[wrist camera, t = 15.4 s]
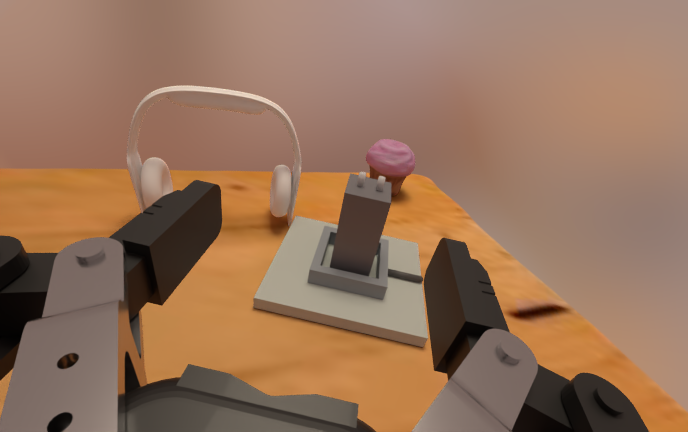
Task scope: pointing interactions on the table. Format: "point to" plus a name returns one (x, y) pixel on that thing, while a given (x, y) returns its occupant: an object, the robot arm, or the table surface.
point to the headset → (154, 172)
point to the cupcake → (390, 162)
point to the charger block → (361, 223)
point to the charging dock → (346, 285)
